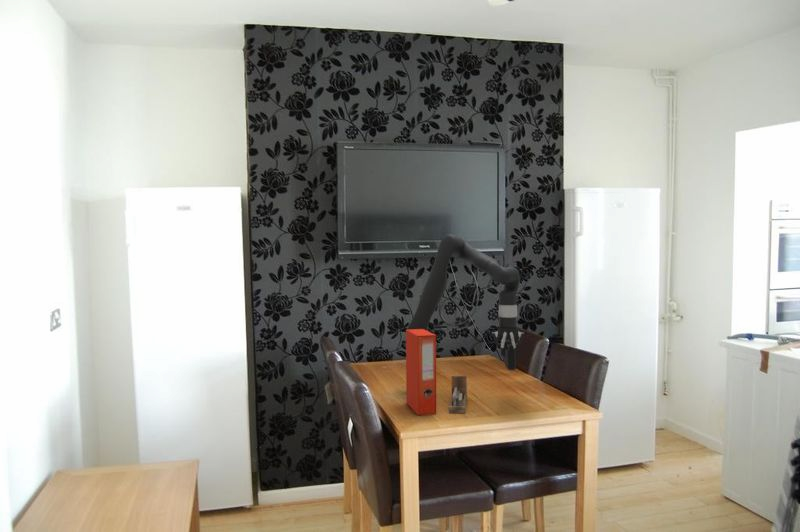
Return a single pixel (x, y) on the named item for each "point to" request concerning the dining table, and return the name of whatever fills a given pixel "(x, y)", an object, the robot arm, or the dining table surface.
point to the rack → (461, 385)
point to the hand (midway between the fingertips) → (508, 356)
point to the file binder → (421, 371)
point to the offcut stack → (457, 398)
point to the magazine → (509, 356)
